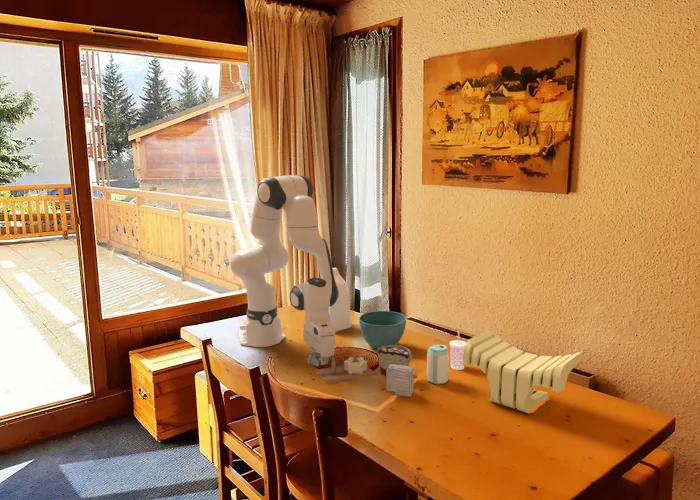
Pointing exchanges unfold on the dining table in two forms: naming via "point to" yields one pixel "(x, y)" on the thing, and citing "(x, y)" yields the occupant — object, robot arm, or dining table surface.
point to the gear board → (341, 373)
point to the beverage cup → (457, 353)
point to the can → (437, 364)
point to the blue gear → (316, 359)
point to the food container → (393, 356)
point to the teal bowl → (382, 328)
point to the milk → (340, 304)
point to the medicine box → (400, 380)
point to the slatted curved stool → (517, 371)
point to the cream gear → (355, 365)
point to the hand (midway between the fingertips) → (318, 360)
